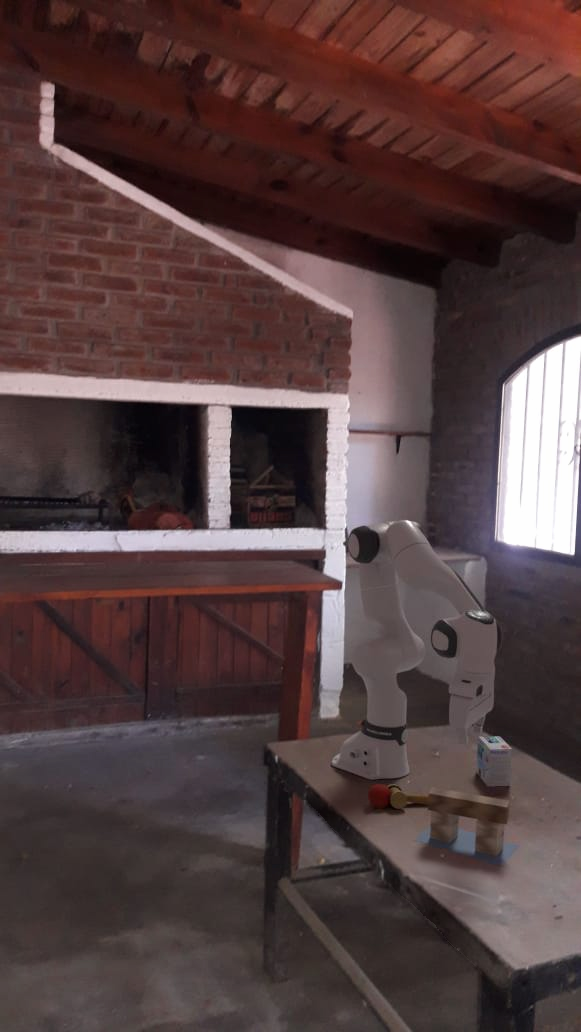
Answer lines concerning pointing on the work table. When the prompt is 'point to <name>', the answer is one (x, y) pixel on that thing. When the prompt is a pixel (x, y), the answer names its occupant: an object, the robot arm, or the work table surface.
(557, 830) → the work table surface
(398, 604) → the robot arm
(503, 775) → the light bulb box
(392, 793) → the kendama
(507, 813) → the beam
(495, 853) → the pillar right
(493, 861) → the board
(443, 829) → the pillar left
